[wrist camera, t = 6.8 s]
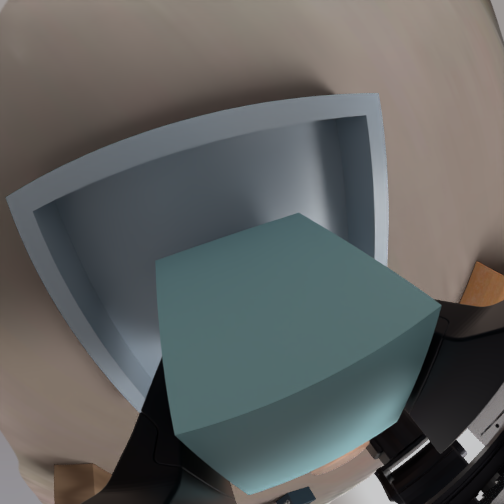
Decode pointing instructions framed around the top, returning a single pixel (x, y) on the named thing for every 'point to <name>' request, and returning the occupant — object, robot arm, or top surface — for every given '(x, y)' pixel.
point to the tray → (194, 210)
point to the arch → (484, 287)
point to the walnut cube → (78, 482)
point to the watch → (297, 497)
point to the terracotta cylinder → (340, 460)
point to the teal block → (286, 349)
